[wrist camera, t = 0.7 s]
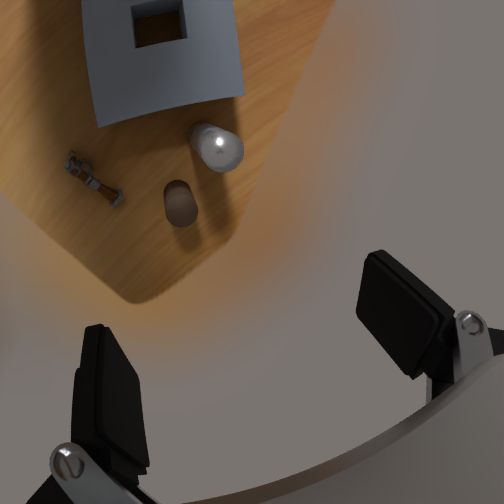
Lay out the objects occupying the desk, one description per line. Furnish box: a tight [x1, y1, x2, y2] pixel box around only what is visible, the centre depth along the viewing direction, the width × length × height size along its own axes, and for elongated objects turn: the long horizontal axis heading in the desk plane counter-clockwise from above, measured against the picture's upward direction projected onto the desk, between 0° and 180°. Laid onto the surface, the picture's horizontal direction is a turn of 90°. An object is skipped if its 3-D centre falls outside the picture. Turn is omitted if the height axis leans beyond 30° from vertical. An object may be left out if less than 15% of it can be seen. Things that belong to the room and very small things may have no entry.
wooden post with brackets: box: [64, 151, 124, 208], centre depth 27 cm, size 2×8×4 cm, turn 36°
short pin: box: [164, 180, 198, 227], centre depth 30 cm, size 3×3×6 cm
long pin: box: [188, 122, 244, 172], centre depth 25 cm, size 3×3×11 cm
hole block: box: [81, 0, 245, 128], centre depth 20 cm, size 18×14×5 cm
